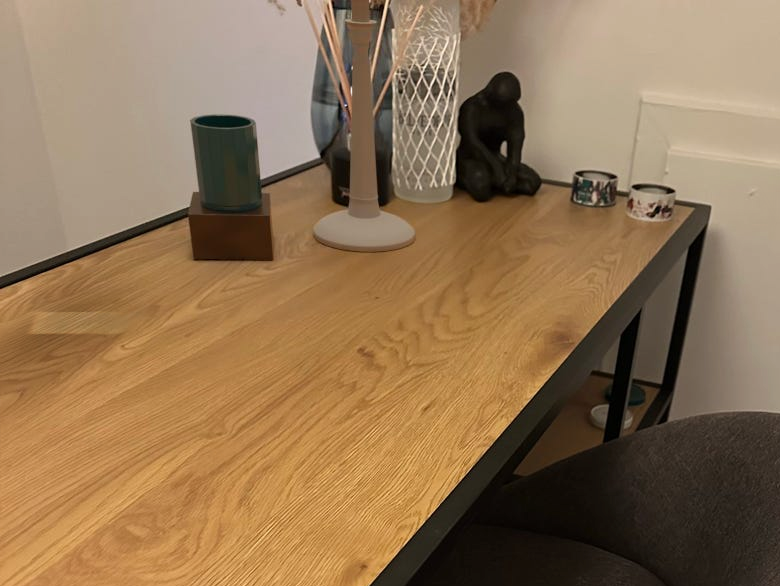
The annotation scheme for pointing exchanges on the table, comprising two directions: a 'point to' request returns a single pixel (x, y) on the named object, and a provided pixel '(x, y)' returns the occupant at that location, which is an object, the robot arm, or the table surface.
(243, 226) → the block
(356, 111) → the candlestick
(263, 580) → the table surface
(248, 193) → the cup
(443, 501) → the table surface
